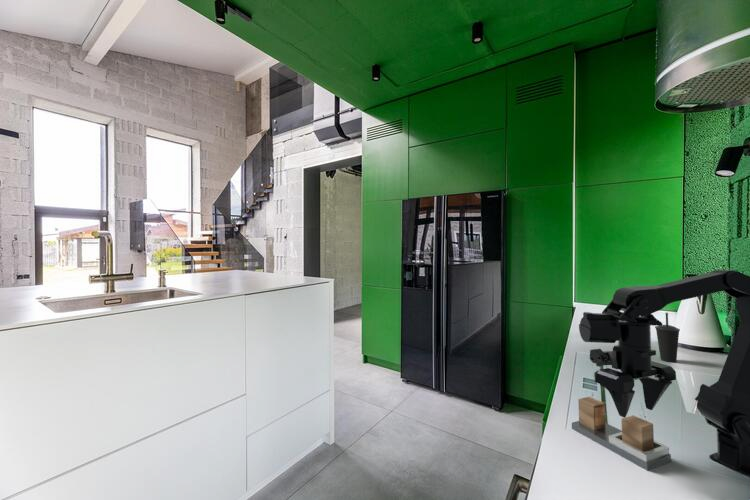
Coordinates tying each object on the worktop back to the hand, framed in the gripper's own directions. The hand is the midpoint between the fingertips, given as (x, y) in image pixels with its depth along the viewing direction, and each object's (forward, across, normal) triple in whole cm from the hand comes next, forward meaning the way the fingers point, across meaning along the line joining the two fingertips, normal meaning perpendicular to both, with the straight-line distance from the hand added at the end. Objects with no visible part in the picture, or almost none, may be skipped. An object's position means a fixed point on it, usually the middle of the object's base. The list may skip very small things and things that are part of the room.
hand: (636, 412), depth 71 cm
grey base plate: (+9, 0, -4) cm, 10 cm away
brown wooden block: (+8, 0, -10) cm, 13 cm away
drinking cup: (+9, -80, -35) cm, 88 cm away
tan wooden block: (+8, 0, 0) cm, 8 cm away
